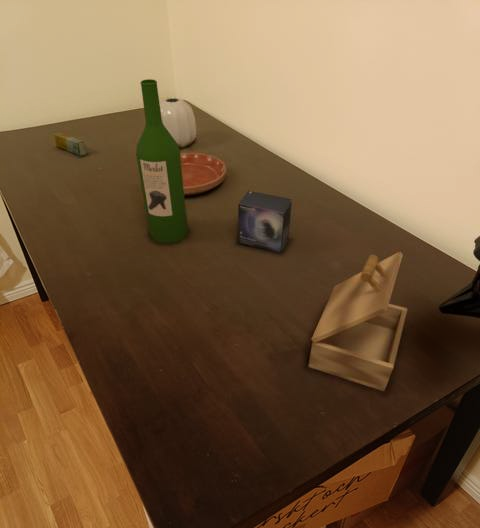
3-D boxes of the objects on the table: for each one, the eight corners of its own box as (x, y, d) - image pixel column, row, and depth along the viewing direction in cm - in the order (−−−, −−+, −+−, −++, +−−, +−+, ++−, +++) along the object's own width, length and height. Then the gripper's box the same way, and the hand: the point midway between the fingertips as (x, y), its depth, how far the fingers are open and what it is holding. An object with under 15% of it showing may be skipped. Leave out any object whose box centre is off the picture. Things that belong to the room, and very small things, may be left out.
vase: (162, 155, 134) (156, 109, 124) (151, 139, 143) (144, 95, 134) (203, 148, 138) (201, 103, 128) (190, 133, 147) (186, 90, 138)
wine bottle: (146, 243, 98) (118, 88, 76) (153, 222, 105) (130, 74, 82) (185, 244, 98) (168, 88, 76) (190, 223, 104) (176, 74, 82)
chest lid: (403, 254, 68) (385, 233, 66) (386, 312, 58) (365, 288, 57) (337, 289, 77) (321, 270, 76) (314, 343, 67) (295, 323, 66)
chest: (399, 331, 78) (407, 308, 74) (384, 391, 68) (393, 368, 64) (331, 312, 81) (335, 289, 77) (308, 367, 72) (312, 343, 68)
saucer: (139, 169, 126) (137, 157, 124) (214, 159, 131) (213, 147, 129) (152, 206, 111) (150, 193, 108) (236, 193, 116) (236, 180, 113)
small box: (236, 244, 98) (236, 202, 91) (247, 230, 102) (247, 189, 95) (280, 254, 95) (284, 212, 88) (289, 239, 99) (293, 198, 92)
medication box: (87, 154, 134) (85, 141, 132) (80, 156, 133) (78, 143, 130) (62, 144, 139) (60, 131, 137) (55, 146, 137) (53, 133, 135)
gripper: (532, 181, 56) (419, 235, 66) (541, 259, 43) (400, 309, 54) (568, 246, 59) (455, 287, 70) (586, 336, 47) (445, 368, 57)
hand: (440, 309), depth 63 cm, fingers closed
